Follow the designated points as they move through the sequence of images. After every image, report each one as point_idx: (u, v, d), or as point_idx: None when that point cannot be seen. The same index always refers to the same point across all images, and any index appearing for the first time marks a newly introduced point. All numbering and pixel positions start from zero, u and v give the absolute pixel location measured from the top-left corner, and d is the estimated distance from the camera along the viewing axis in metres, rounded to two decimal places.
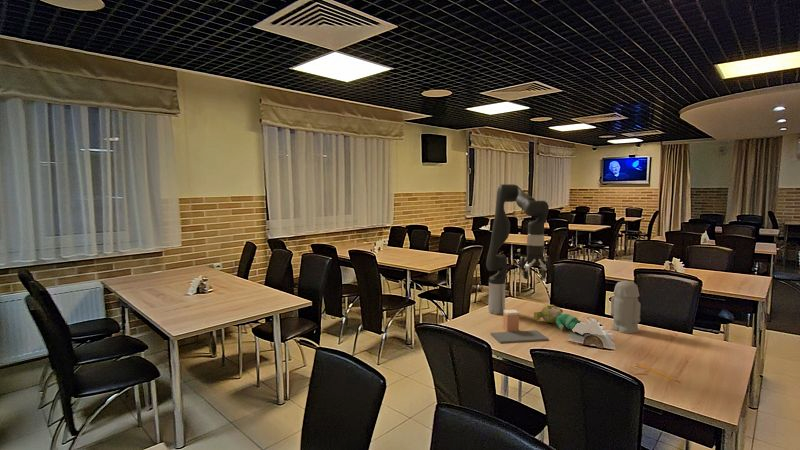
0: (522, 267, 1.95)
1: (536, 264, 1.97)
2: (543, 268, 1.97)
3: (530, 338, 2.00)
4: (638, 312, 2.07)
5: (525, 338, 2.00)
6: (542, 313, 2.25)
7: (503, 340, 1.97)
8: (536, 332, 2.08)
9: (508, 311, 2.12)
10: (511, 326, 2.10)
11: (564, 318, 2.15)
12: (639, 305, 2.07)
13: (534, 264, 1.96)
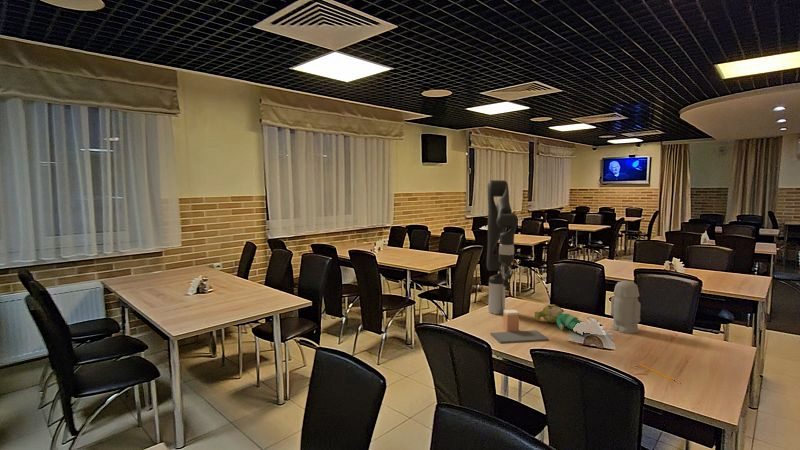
0: None
1: None
2: None
3: (530, 338, 2.00)
4: (638, 312, 2.07)
5: (525, 338, 2.00)
6: (543, 313, 2.25)
7: (503, 340, 1.97)
8: (536, 332, 2.08)
9: (508, 311, 2.12)
10: (511, 326, 2.10)
11: (564, 318, 2.15)
12: (639, 305, 2.07)
13: None
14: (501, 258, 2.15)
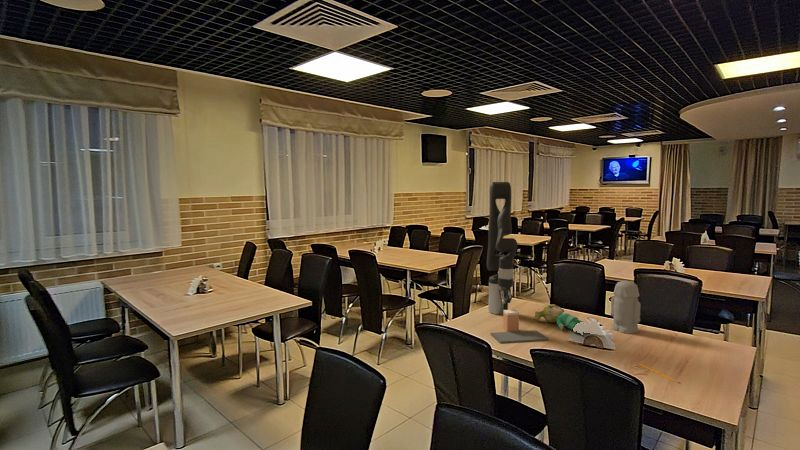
0: None
1: None
2: None
3: (530, 338, 2.00)
4: (638, 312, 2.07)
5: (525, 338, 2.00)
6: (543, 312, 2.26)
7: (503, 340, 1.97)
8: (536, 332, 2.08)
9: (508, 311, 2.12)
10: (511, 326, 2.10)
11: (564, 318, 2.15)
12: (639, 305, 2.07)
13: None
14: (501, 282, 2.16)
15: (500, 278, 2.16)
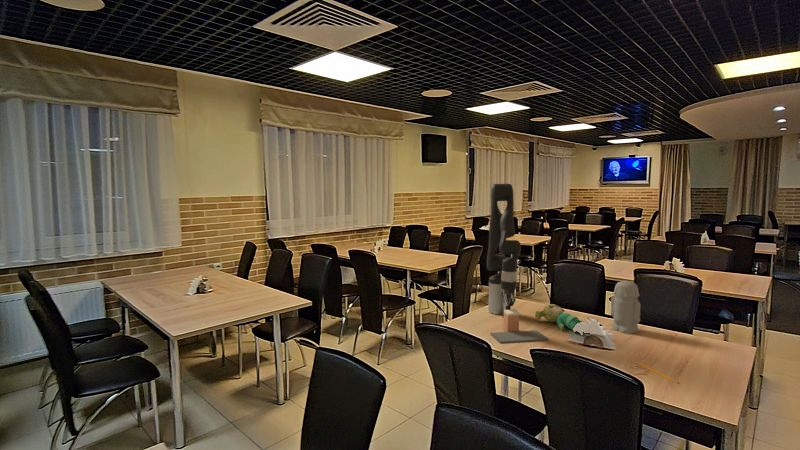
0: None
1: None
2: None
3: (530, 338, 2.00)
4: (638, 312, 2.07)
5: (525, 338, 2.00)
6: (543, 312, 2.26)
7: (503, 340, 1.97)
8: (536, 332, 2.08)
9: (509, 311, 2.11)
10: (511, 326, 2.10)
11: (564, 317, 2.16)
12: (639, 305, 2.07)
13: None
14: (504, 285, 2.12)
15: (503, 281, 2.12)
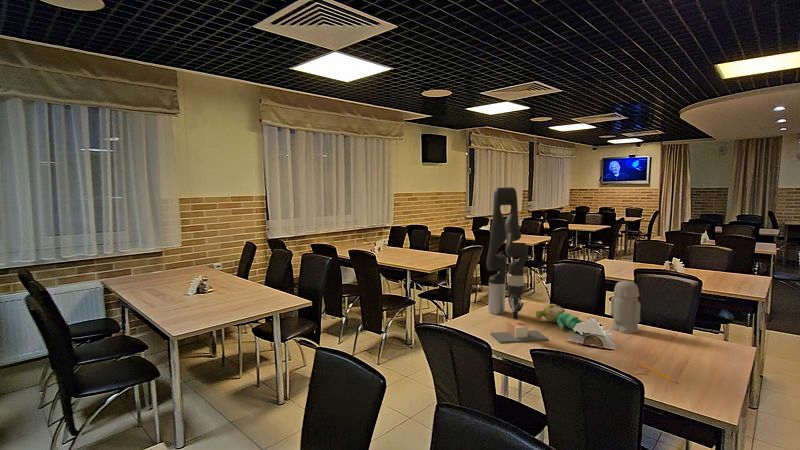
0: None
1: None
2: None
3: (530, 338, 2.00)
4: (638, 312, 2.07)
5: (525, 338, 2.00)
6: (544, 312, 2.26)
7: (503, 340, 1.97)
8: (536, 332, 2.08)
9: (518, 332, 2.01)
10: None
11: (565, 317, 2.16)
12: (639, 305, 2.07)
13: None
14: (511, 289, 2.04)
15: (510, 285, 2.04)
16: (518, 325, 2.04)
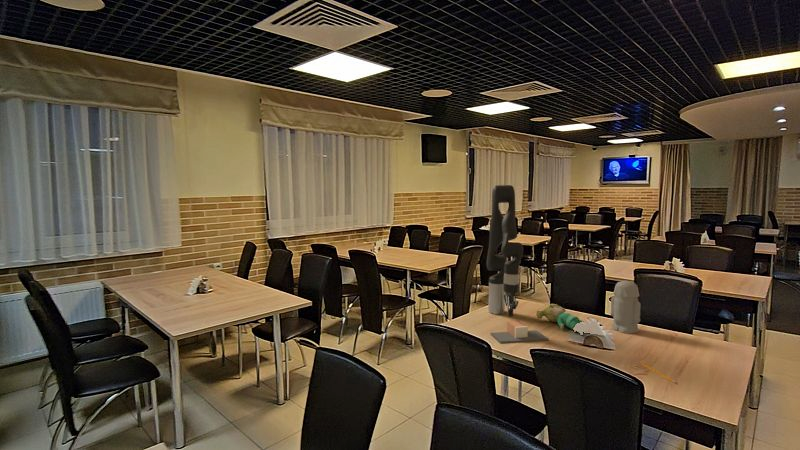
0: None
1: None
2: None
3: (530, 338, 2.00)
4: (638, 312, 2.07)
5: (525, 338, 2.00)
6: (544, 312, 2.27)
7: (503, 340, 1.97)
8: (536, 332, 2.08)
9: (518, 332, 2.01)
10: None
11: (565, 317, 2.16)
12: (639, 305, 2.07)
13: None
14: (506, 288, 2.10)
15: (505, 284, 2.10)
16: (518, 325, 2.04)
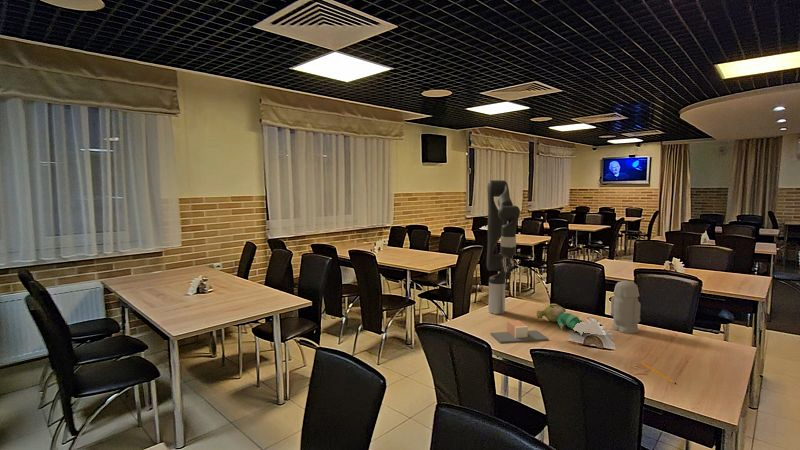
0: None
1: None
2: None
3: (530, 338, 2.00)
4: (638, 312, 2.07)
5: (525, 338, 2.00)
6: (545, 312, 2.27)
7: (503, 340, 1.97)
8: (536, 332, 2.08)
9: (518, 332, 2.01)
10: None
11: (565, 317, 2.16)
12: (639, 305, 2.07)
13: None
14: (503, 250, 2.12)
15: (502, 246, 2.13)
16: (518, 325, 2.04)
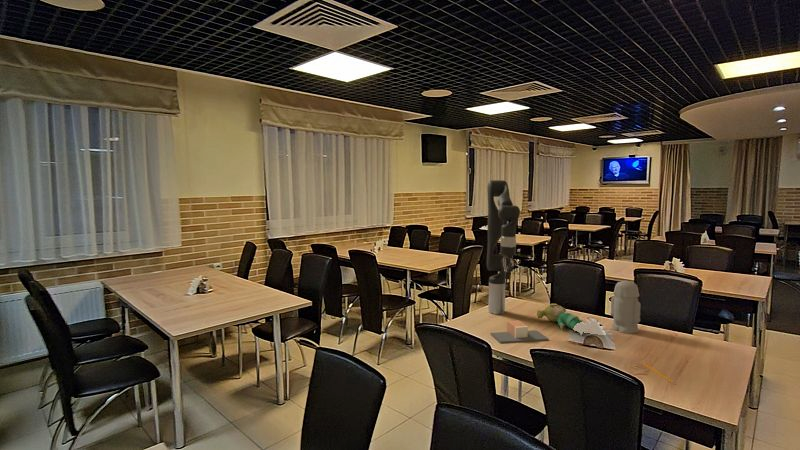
0: None
1: None
2: None
3: (530, 338, 2.00)
4: (638, 312, 2.07)
5: (525, 338, 2.00)
6: (545, 312, 2.27)
7: (503, 340, 1.97)
8: (536, 332, 2.08)
9: (518, 332, 2.01)
10: None
11: (565, 317, 2.17)
12: (639, 305, 2.07)
13: None
14: (503, 250, 2.12)
15: (502, 246, 2.13)
16: (518, 325, 2.04)
